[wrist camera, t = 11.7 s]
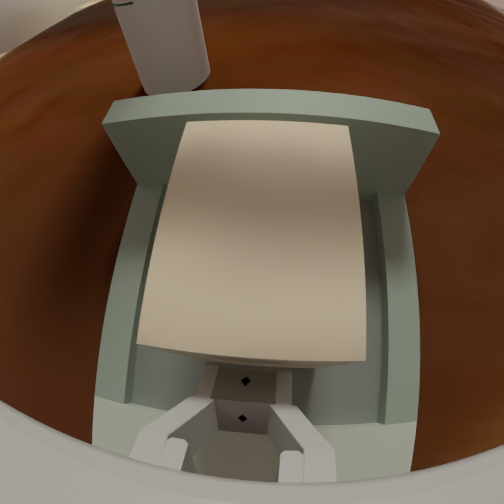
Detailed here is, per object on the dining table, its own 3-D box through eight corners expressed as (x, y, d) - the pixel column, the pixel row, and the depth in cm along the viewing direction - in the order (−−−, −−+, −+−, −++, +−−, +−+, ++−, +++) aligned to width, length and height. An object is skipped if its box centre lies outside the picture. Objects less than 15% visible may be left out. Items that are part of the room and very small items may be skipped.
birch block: (315, 368, 15) (365, 361, 7) (205, 360, 16) (136, 343, 7) (318, 233, 18) (348, 125, 10) (221, 229, 19) (186, 121, 10)
